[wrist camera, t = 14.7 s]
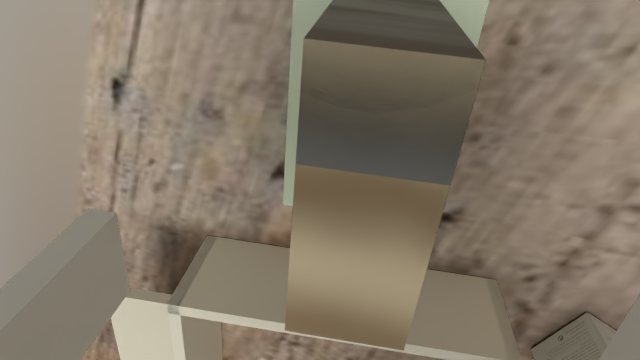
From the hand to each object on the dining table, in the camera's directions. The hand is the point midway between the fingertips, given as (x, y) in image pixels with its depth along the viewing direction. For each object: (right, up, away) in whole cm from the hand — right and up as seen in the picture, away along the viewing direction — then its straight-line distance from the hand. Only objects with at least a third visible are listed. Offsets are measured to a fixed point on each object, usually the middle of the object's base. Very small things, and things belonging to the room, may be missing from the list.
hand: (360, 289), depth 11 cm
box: (+2, +7, +14) cm, 16 cm away
